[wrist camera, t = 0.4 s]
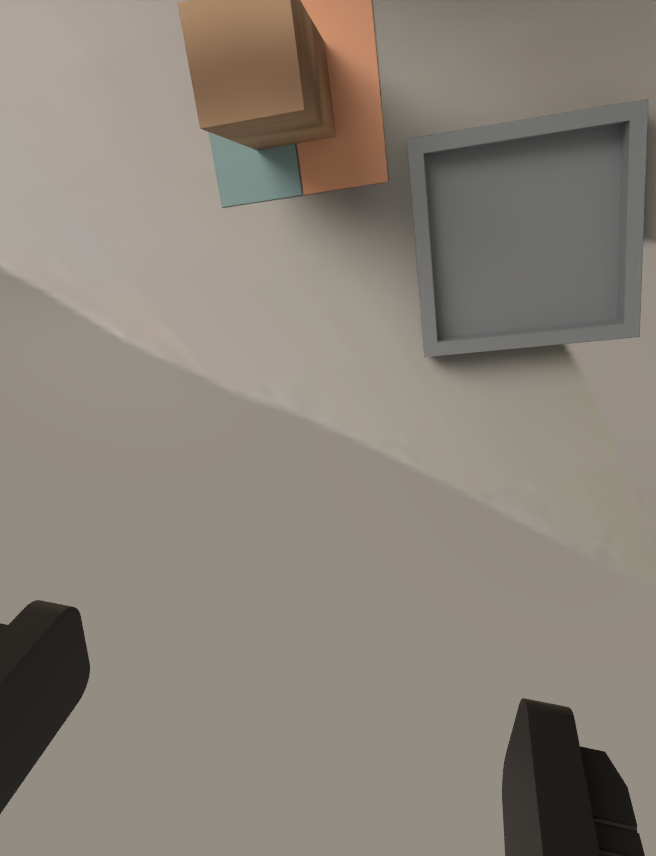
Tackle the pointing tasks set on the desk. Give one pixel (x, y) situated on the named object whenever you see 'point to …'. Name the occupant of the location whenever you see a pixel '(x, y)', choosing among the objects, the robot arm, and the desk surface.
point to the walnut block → (258, 71)
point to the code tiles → (353, 117)
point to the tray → (531, 230)
